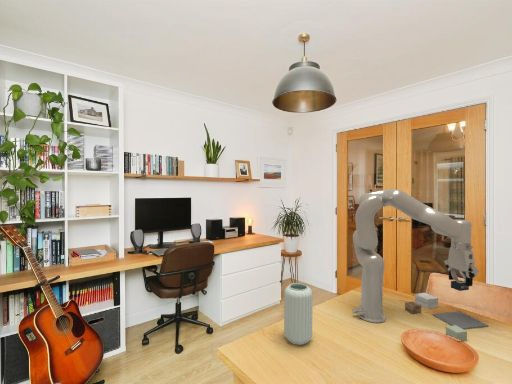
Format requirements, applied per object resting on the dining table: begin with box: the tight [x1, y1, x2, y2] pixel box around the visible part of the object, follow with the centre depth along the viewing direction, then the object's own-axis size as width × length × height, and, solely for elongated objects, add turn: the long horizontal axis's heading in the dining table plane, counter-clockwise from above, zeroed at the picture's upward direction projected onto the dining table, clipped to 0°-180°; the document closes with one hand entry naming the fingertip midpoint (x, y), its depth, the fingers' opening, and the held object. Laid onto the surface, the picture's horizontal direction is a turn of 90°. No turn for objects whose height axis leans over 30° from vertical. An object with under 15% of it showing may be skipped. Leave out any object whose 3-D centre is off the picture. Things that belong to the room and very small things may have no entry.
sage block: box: [445, 325, 468, 342], centre depth 113 cm, size 5×5×4 cm
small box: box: [414, 292, 439, 310], centre depth 145 cm, size 8×8×5 cm
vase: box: [283, 282, 313, 346], centre depth 111 cm, size 12×12×22 cm
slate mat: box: [432, 310, 489, 330], centre depth 128 cm, size 16×14×1 cm
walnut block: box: [404, 301, 422, 315], centre depth 137 cm, size 5×5×4 cm
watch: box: [450, 268, 470, 292], centre depth 127 cm, size 6×8×11 cm
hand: (460, 282), depth 127 cm, fingers closed on watch, 8 cm apart
